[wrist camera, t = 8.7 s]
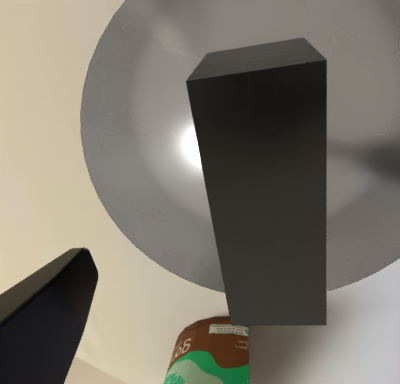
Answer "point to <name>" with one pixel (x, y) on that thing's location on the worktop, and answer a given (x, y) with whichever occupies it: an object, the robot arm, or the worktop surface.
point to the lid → (251, 145)
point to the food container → (210, 354)
